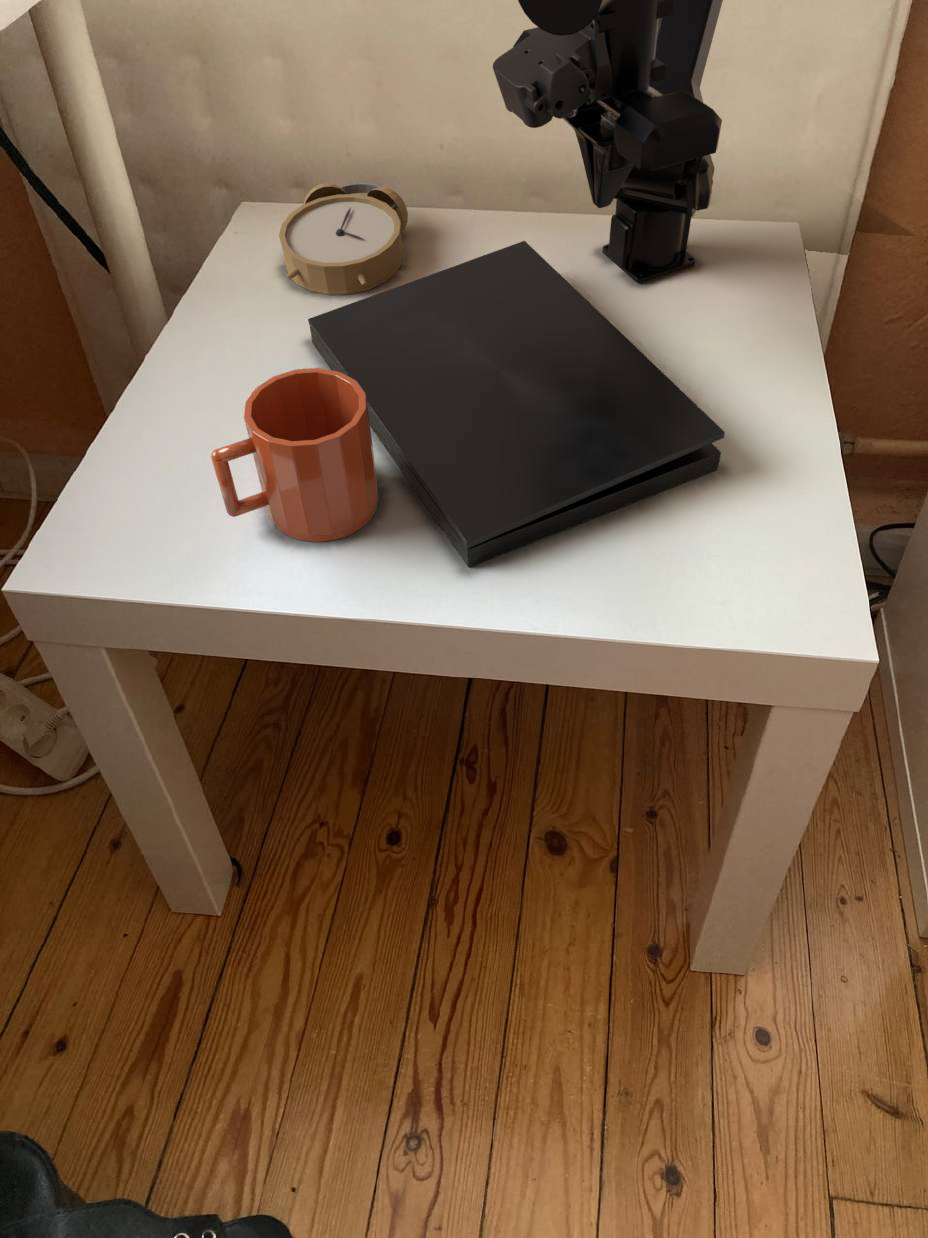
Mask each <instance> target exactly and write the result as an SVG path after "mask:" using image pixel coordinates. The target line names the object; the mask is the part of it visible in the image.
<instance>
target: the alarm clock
mask: <svg viewBox="0 0 928 1238" xmlns="http://www.w3.org/2000/svg"><path fill="white" fill-rule="evenodd" d="M363 194H367V195H363ZM407 208H408V207H407V205H406V203H405V201H404V200H403V198H402V197H401V196H400V195H399V194H398V193H397V192H396V191H395V190H393V189H391V188H388V187H385V186H382V185H380V184H377V183H371V182H353V183H352V182H351V183H347V184H344V185H341V186H339V185H337V184H334V183H328V182H327V183H321V184H317V185H315V186H313V188H311V189H310V190H309V192H308V193H307V194H306V196H305V198H304V201H303V204H302V205H300V206H299V207H297V208H296V209H294V210H293V211H292V212H290V213H289V214H288V216H287V217H286V218H285V219H284V221H283V222H282V224H281V225H280V230H279V235H278V238H279V241H280V245H281V249H282V254H283V258H284V265H285V268H286V271H287V274H286V276H285V278H286V279H287V280H288V281H290V280H292V281H293V282H294V283H295V284H296V285H297V286H299V287H301V288H303V289H305V290H307V291H310V292H313V293H317V294H322V295H327V296H337V295H338V296H339V295H341V296H342V295H344V296H345V295H346V296H347V295H352V294H357V293H360V292H361V293H363V292H366V291H368V290H371V289H373V288H376V287H377V286H380V285H382V284H384V283H385V282H386V281H388V280H389V279H390V278H392V276H394V275H395V274H396V273H397V271H398V269H399V268H400V266H401V265H402V264H403V260H404V259H403V258H404V251H405V250H404V246H403V238H402V233H403V232H404V231H405V230H406V227H407V224H408V221H409V212H408V209H407Z"/></svg>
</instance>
